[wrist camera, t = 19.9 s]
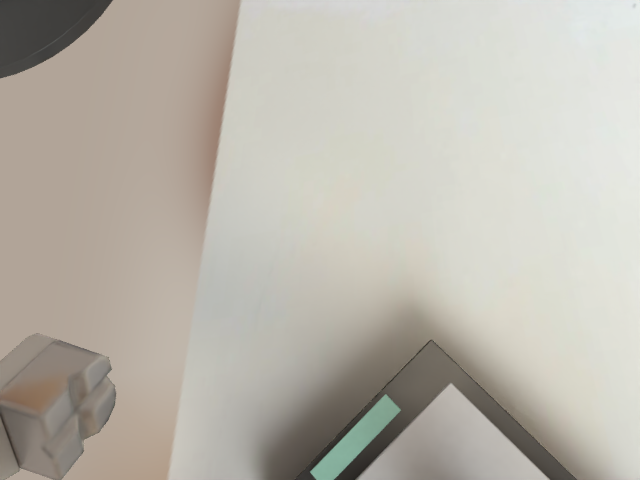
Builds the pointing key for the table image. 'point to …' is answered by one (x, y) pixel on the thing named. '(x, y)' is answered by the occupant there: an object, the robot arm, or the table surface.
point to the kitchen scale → (434, 433)
